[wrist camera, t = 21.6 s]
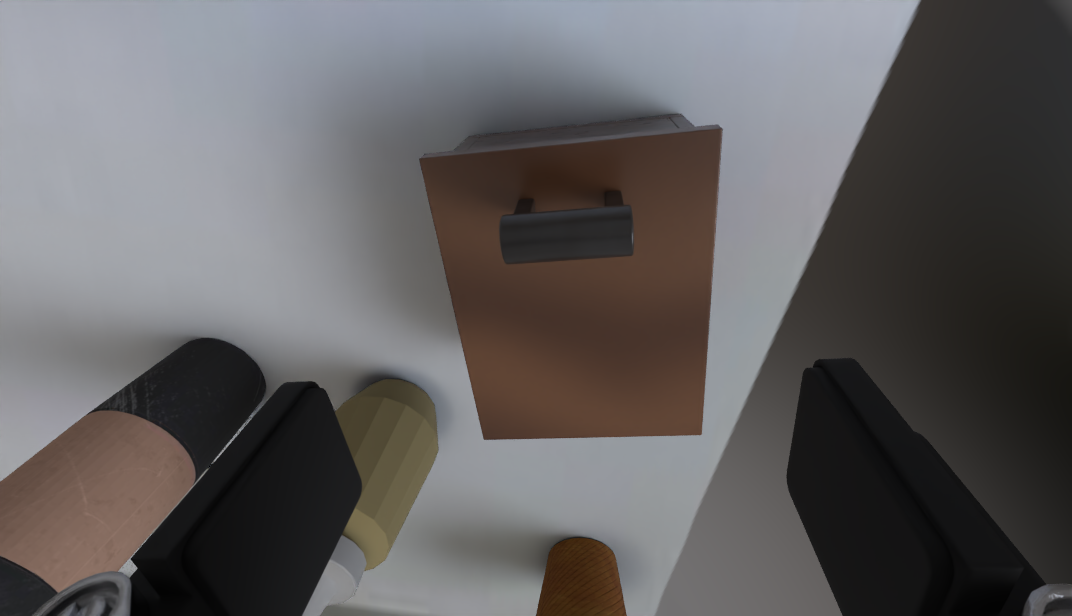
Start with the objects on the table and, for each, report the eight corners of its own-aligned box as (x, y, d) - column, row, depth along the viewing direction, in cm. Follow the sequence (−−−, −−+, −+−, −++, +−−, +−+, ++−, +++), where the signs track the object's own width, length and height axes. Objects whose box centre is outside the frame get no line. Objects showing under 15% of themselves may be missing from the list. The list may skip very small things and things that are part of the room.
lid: (423, 153, 21) (380, 192, 17) (718, 123, 20) (757, 158, 15) (486, 430, 29) (468, 505, 25) (698, 424, 28) (720, 504, 23)
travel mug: (178, 399, 41) (-119, 668, 24) (168, 323, 38) (-193, 576, 20) (270, 422, 42) (43, 704, 24) (269, 349, 38) (-2, 619, 21)
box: (468, 135, 29) (431, 169, 22) (681, 113, 27) (713, 142, 20) (505, 352, 36) (486, 429, 29) (676, 344, 35) (698, 424, 28)
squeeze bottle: (333, 372, 39) (158, 608, 23) (431, 358, 37) (316, 599, 21) (372, 449, 42) (246, 697, 27) (463, 439, 41) (385, 696, 25)
